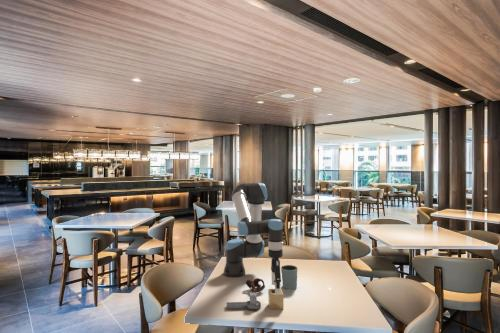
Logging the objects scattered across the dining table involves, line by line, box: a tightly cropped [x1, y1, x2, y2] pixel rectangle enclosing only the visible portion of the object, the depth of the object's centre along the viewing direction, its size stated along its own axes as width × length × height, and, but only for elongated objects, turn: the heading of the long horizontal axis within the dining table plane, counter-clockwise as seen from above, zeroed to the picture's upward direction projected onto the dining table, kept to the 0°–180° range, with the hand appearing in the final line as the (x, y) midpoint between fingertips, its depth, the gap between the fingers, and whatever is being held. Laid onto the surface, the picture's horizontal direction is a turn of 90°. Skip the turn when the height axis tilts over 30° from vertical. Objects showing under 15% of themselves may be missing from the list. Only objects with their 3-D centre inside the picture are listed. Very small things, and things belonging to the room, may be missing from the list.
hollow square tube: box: [267, 288, 284, 311], centre depth 158 cm, size 7×7×8 cm
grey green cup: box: [280, 264, 298, 291], centre depth 184 cm, size 10×10×12 cm
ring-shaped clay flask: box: [245, 277, 266, 294], centre depth 179 cm, size 12×10×8 cm
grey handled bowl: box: [226, 292, 262, 312], centre depth 157 cm, size 8×18×7 cm, turn 93°
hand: (275, 289), depth 157 cm, fingers open, 13 cm apart
